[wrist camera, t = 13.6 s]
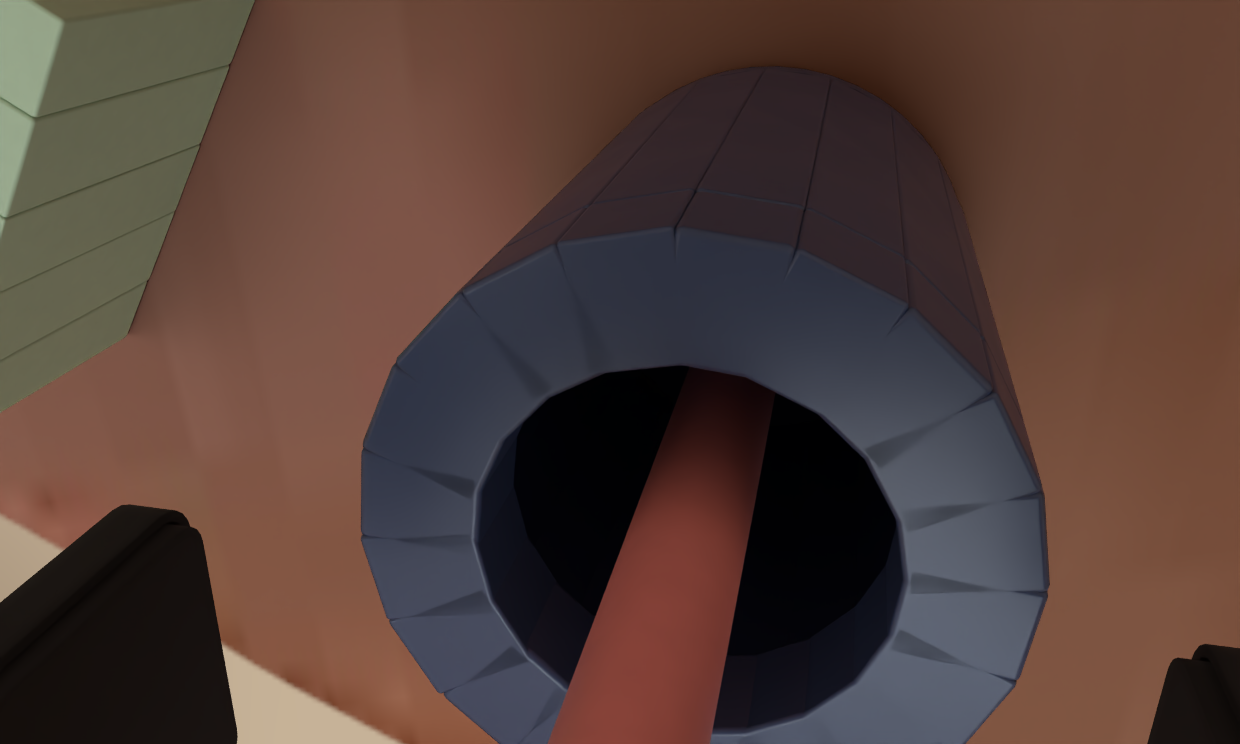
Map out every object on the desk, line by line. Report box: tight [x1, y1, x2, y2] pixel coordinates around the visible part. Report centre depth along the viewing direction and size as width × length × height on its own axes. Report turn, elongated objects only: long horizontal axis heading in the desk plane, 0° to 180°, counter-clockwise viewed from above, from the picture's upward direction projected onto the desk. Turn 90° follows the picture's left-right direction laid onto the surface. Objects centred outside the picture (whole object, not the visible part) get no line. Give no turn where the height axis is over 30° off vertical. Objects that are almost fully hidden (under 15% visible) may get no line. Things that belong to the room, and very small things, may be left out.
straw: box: [548, 367, 776, 744], centre depth 15 cm, size 1×1×14 cm
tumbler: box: [361, 66, 1050, 744], centre depth 17 cm, size 8×8×11 cm
